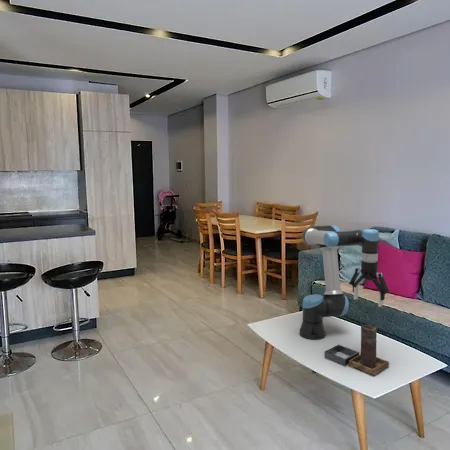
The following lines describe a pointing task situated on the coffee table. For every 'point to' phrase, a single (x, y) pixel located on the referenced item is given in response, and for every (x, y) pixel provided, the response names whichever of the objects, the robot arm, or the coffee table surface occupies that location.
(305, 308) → the robot arm
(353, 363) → the tray
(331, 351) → the collar
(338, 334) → the coffee table surface
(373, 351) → the rusty brown cylinder
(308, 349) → the coffee table surface
